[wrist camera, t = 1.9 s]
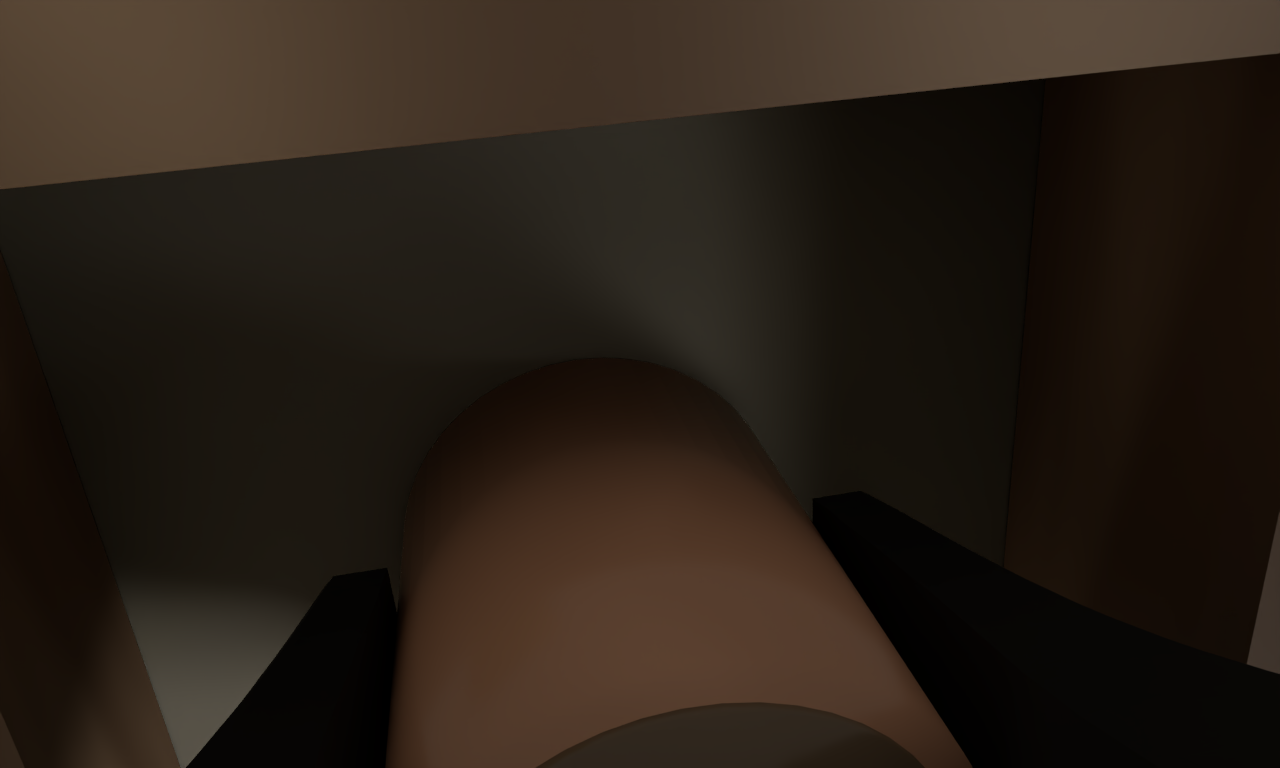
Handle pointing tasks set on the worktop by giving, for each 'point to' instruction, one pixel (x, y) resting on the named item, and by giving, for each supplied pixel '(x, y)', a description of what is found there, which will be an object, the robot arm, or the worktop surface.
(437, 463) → the seedling pot
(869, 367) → the worktop surface
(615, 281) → the worktop surface
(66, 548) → the wooden square frame
